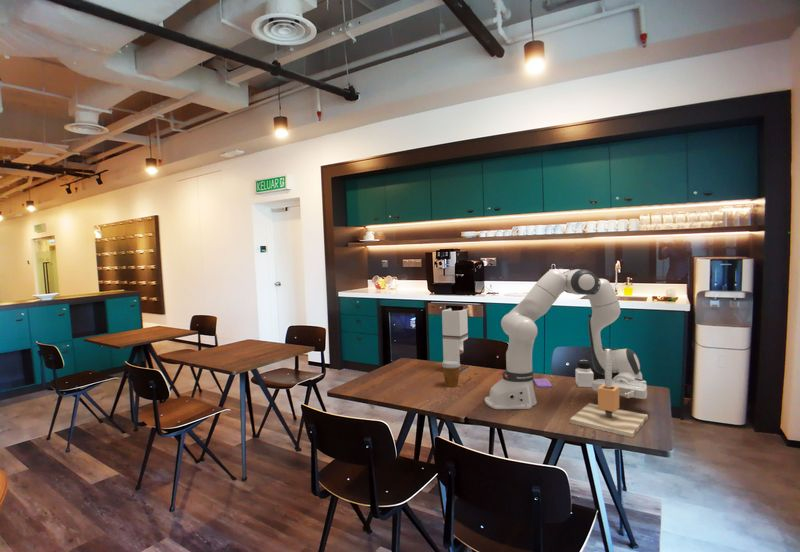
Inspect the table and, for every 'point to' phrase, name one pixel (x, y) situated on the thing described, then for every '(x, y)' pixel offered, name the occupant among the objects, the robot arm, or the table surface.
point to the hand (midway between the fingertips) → (613, 393)
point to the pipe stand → (610, 420)
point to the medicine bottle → (584, 374)
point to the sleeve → (608, 398)
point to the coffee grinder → (454, 334)
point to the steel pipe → (608, 376)
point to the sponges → (542, 383)
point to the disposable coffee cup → (451, 372)
